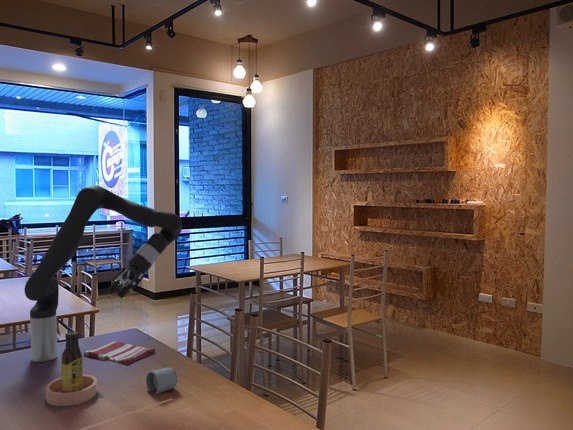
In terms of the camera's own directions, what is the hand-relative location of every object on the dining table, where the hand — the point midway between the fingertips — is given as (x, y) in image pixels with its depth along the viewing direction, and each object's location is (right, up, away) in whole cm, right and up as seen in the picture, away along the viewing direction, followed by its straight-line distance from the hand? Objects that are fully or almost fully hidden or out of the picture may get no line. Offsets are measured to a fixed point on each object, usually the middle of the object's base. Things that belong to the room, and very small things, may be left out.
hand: (114, 294), depth 167 cm
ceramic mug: (+18, -32, -6) cm, 37 cm away
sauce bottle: (-9, -30, -13) cm, 34 cm away
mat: (-9, -32, -13) cm, 35 cm away
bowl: (-9, -31, -13) cm, 35 cm away
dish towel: (-8, -30, +27) cm, 41 cm away
